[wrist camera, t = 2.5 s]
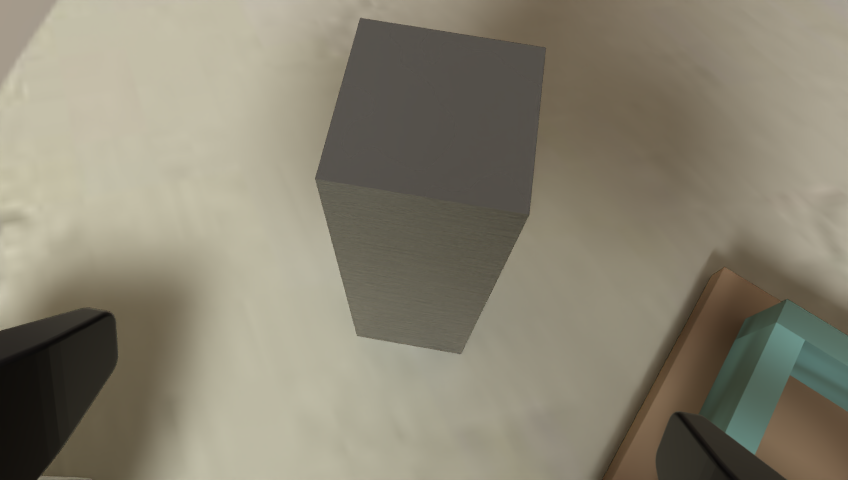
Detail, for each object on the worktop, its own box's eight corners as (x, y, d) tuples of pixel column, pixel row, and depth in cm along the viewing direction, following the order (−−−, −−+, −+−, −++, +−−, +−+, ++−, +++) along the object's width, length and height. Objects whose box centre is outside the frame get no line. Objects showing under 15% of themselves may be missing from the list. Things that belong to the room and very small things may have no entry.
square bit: (460, 353, 21) (529, 214, 10) (357, 335, 21) (315, 178, 10) (474, 257, 23) (545, 47, 12) (377, 240, 23) (360, 17, 12)
